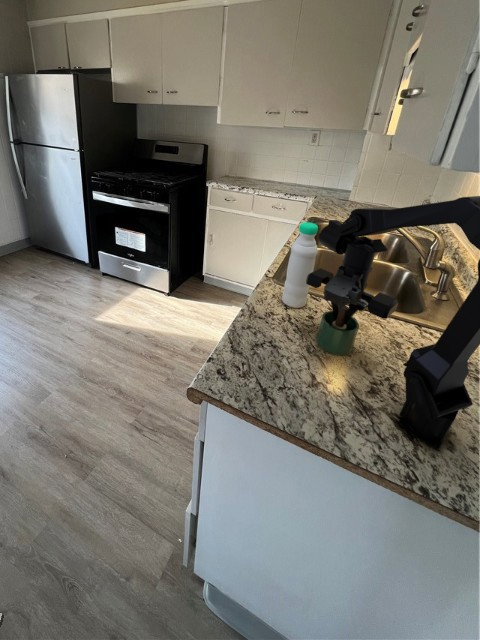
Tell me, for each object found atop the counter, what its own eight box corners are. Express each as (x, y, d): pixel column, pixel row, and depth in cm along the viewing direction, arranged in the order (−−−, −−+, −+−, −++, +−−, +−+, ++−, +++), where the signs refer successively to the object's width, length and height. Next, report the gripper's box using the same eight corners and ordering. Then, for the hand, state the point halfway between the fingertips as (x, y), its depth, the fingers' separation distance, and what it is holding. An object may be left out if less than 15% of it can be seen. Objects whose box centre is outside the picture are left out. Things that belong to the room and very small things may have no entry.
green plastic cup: (357, 345, 78) (365, 322, 75) (341, 360, 73) (349, 336, 70) (326, 328, 84) (332, 307, 81) (310, 341, 79) (315, 318, 76)
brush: (345, 338, 77) (354, 308, 74) (338, 343, 76) (347, 313, 72) (332, 331, 80) (341, 302, 76) (326, 336, 78) (334, 306, 74)
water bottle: (280, 294, 98) (293, 219, 88) (303, 297, 98) (319, 221, 87) (283, 307, 92) (298, 227, 81) (307, 310, 91) (326, 229, 80)
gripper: (299, 258, 70) (287, 315, 77) (387, 293, 58) (365, 358, 64) (324, 246, 77) (312, 299, 84) (409, 275, 64) (386, 336, 71)
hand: (340, 321), depth 75 cm, fingers closed on brush, 2 cm apart
